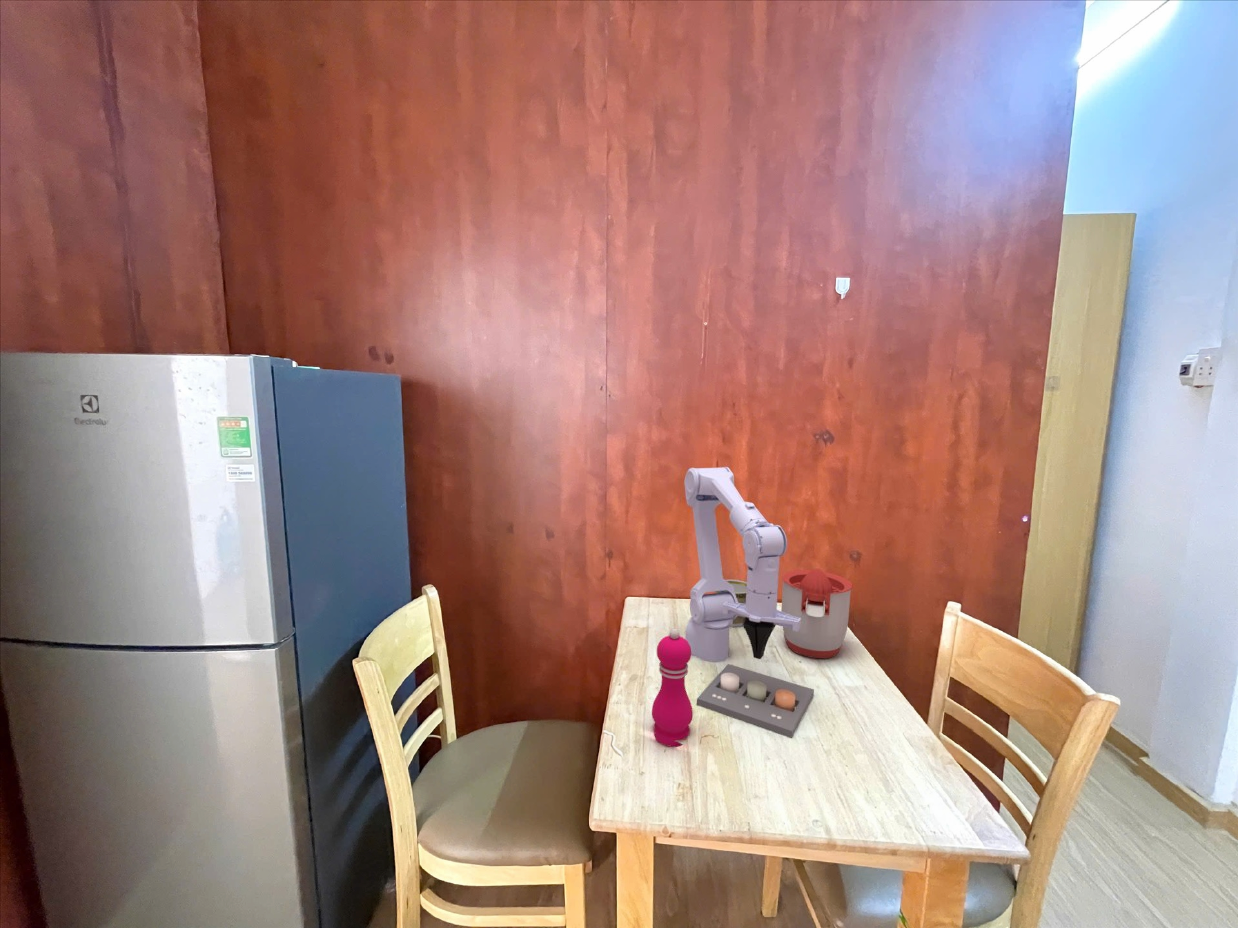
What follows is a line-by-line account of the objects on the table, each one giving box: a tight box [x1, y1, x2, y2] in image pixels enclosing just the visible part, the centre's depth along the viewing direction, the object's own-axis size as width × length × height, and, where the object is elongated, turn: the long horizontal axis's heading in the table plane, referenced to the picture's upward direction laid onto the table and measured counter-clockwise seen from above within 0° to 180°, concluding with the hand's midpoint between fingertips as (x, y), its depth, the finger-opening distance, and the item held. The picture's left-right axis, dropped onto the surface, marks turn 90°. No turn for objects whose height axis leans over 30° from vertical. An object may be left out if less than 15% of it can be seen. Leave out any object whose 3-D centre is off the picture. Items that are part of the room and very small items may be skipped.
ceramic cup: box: [714, 579, 747, 628], centre depth 143 cm, size 13×10×10 cm
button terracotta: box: [774, 689, 796, 712], centre depth 103 cm, size 4×4×3 cm
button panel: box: [696, 663, 815, 739], centre depth 106 cm, size 18×16×3 cm
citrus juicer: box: [781, 567, 853, 659], centre depth 128 cm, size 16×17×20 cm
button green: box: [746, 681, 767, 703], centre depth 105 cm, size 4×4×3 cm
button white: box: [720, 673, 740, 694], centre depth 108 cm, size 4×4×3 cm
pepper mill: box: [651, 628, 694, 748], centre depth 95 cm, size 7×7×20 cm
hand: (758, 656), depth 104 cm, fingers closed
